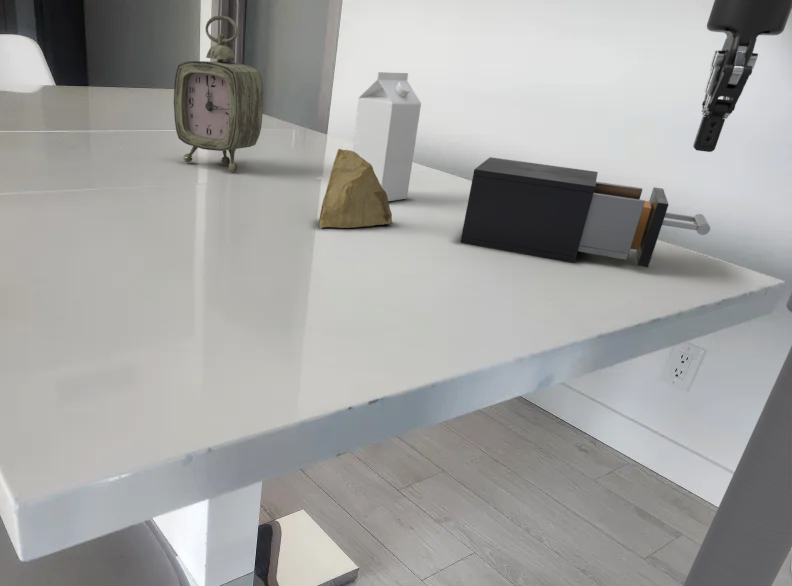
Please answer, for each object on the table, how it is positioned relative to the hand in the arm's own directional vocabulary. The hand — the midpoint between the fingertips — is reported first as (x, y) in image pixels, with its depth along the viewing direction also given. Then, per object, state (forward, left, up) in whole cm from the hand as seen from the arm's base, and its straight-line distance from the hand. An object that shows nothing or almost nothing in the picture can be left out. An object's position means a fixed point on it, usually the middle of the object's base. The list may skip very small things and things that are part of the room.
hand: (702, 150), depth 81 cm
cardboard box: (+6, -2, -12) cm, 14 cm away
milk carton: (+36, -27, -15) cm, 47 cm away
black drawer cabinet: (+17, -6, -14) cm, 23 cm away
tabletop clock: (+65, -42, -15) cm, 79 cm away
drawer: (+6, -2, -14) cm, 15 cm away
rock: (+40, -7, -15) cm, 43 cm away
